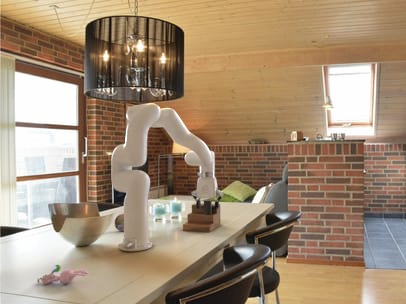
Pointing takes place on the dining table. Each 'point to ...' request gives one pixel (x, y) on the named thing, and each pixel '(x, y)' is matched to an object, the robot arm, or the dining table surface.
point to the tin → (119, 222)
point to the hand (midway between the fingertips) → (207, 208)
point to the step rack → (202, 219)
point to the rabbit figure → (61, 276)
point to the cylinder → (207, 207)
